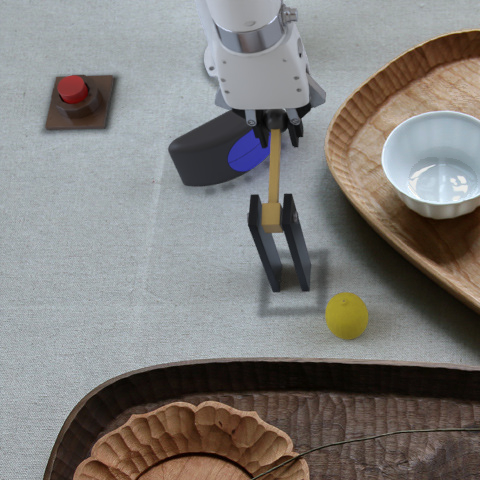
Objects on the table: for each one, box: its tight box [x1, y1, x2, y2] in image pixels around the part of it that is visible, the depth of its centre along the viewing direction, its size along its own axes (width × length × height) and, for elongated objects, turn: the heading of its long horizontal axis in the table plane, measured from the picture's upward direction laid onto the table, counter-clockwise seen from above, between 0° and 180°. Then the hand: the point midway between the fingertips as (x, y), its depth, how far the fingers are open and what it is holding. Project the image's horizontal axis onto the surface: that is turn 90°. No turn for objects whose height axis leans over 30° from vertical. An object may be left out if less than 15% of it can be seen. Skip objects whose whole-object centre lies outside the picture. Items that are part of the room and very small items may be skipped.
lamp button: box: [58, 74, 88, 104], centre depth 122 cm, size 4×4×2 cm
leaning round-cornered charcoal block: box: [167, 109, 271, 188], centre depth 114 cm, size 16×5×9 cm, turn 123°
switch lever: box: [261, 109, 288, 234], centre depth 99 cm, size 16×3×3 cm, turn 0°
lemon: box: [324, 291, 369, 341], centre depth 104 cm, size 6×6×8 cm
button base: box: [44, 74, 115, 131], centre depth 124 cm, size 10×9×2 cm
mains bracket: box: [246, 192, 312, 293], centre depth 103 cm, size 9×8×17 cm
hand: (280, 138), depth 103 cm, fingers closed on switch lever, 3 cm apart
